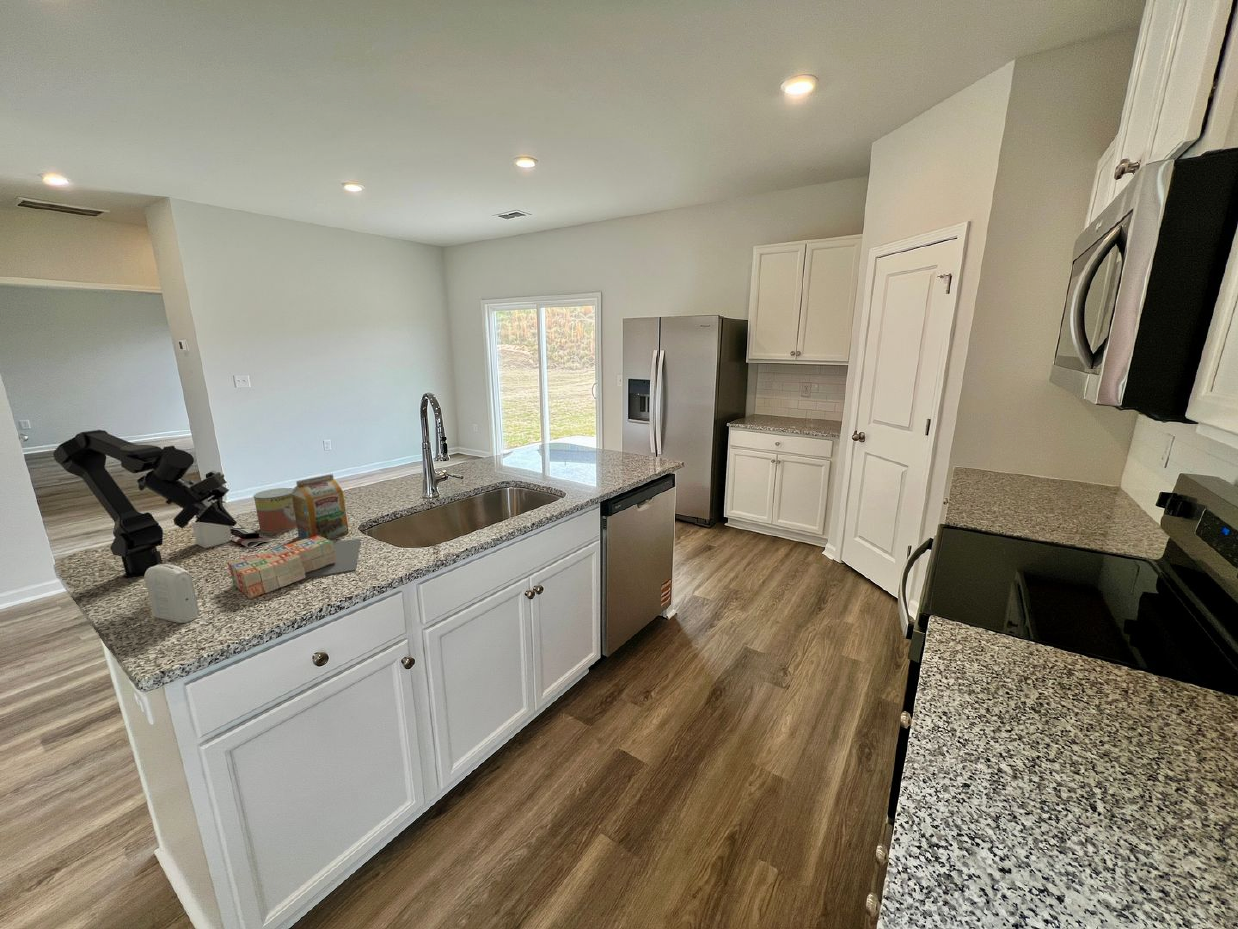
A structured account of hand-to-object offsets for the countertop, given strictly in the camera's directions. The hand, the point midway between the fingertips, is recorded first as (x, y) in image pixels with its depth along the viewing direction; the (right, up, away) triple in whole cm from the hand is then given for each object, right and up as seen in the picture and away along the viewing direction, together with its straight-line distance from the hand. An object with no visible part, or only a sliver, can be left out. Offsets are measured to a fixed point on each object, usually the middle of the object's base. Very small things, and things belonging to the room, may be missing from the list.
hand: (235, 524), depth 129 cm
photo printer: (+2, -18, -19) cm, 27 cm away
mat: (+18, -11, +10) cm, 23 cm away
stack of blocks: (+9, -9, +3) cm, 13 cm away
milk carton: (+6, -7, +29) cm, 30 cm away
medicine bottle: (-24, -8, +23) cm, 34 cm away
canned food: (-12, -5, +35) cm, 38 cm away
